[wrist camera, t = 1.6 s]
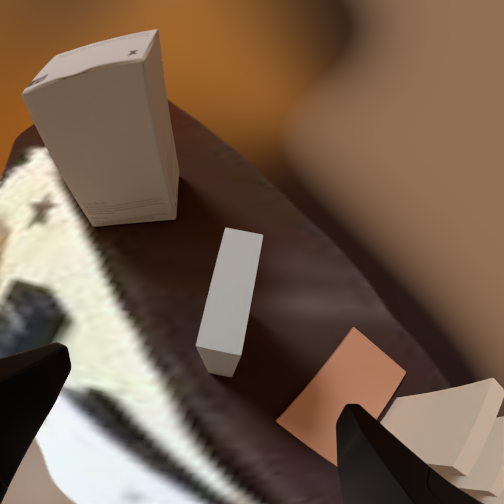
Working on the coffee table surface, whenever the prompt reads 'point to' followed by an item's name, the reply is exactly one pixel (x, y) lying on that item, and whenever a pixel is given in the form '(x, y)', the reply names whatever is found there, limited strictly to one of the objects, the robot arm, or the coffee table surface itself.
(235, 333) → the domino
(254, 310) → the coffee table surface
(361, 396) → the tile
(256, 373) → the coffee table surface
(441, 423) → the domino
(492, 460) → the domino
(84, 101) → the skincare box
